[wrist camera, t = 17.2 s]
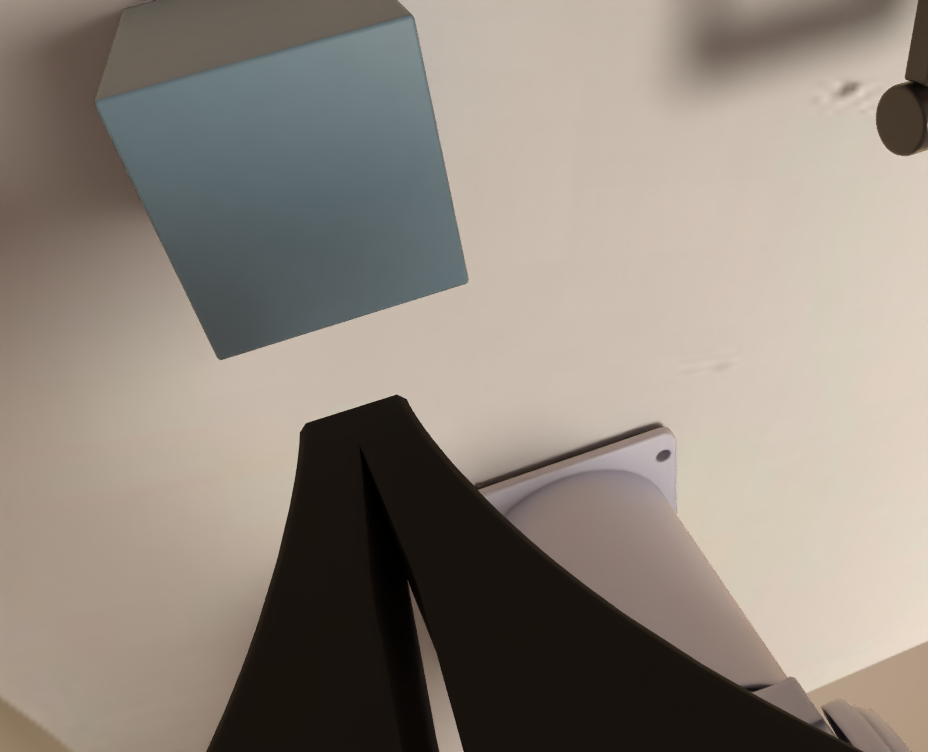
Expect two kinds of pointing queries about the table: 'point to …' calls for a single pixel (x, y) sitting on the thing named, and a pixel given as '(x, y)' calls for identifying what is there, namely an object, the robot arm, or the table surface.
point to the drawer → (908, 97)
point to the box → (283, 160)
